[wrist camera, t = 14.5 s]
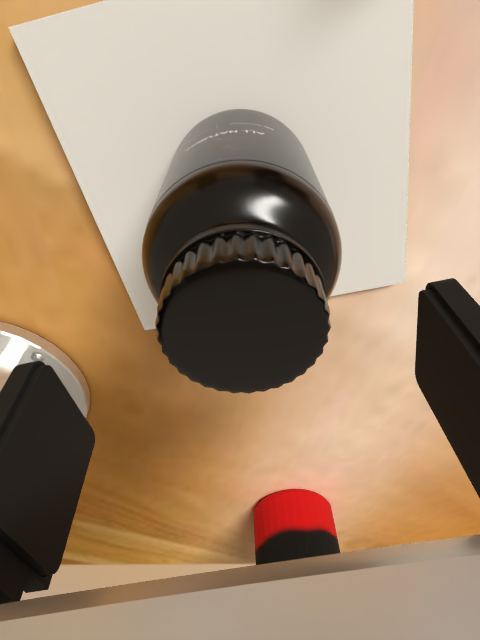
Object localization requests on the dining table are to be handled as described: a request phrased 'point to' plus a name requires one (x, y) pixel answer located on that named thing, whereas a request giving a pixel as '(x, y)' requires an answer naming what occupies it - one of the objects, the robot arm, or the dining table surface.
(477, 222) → the dining table surface
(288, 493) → the soda can
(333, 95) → the white square board
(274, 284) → the supplement bottle
